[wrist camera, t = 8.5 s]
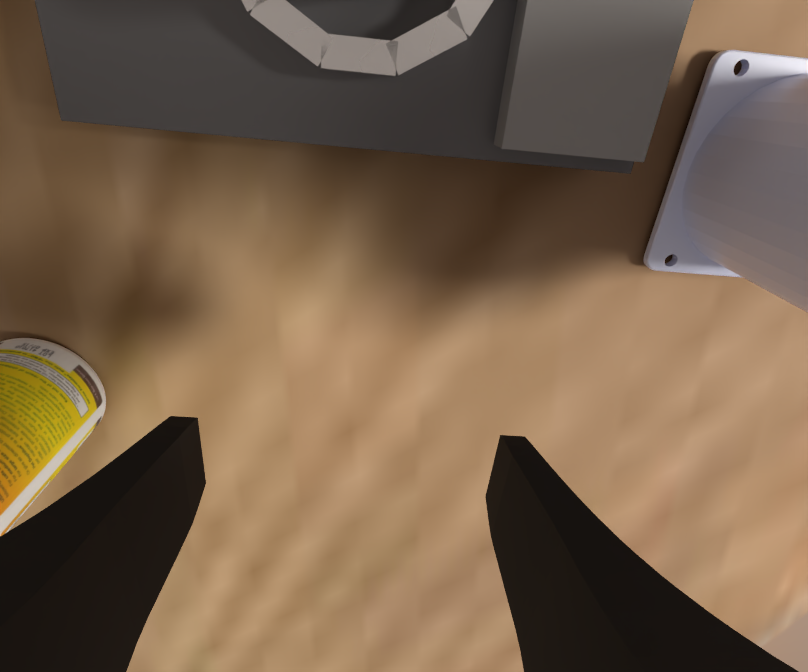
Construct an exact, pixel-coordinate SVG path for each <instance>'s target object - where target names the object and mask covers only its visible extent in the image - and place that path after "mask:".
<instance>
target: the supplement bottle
mask: <svg viewBox="0 0 808 672" xmlns="http://www.w3.org/2000/svg"><path fill="white" fill-rule="evenodd" d="M105 407H106V396H105V391H104V387H103V385H102V383H101V381H100V379H99V377H98V375H97V374H96V372H95V371H94V370H93V369H92V367H91V366H90V365H89V364H88V363H87V362H86V361H85V360H83V359H82V358H81V357H80V356H78V355H77V354H75V353H74V352H72V351H70V350H68V349H67V348H64V347H62V346H60V345H58V344H55V343H52V342H49V341H45V340H40V339H34V338H15V339H9V340H5V341H1V342H0V536H2V535H3V534H5V533H7V532H8V531H9V530H10V529H11V528H12V526H13V525H14V524H15V523H16V522H17V520H18V519H19V518H20V517H21V516H22V515H23V513H24V512H25V511H26V510H27V509H28V508H29V506H30V505H31V504H32V503H33V502H34V500H35V499H36V498H37V497H38V496H39V495H40V493H41V492H42V491H43V490H44V489H45V487H46V486H47V485H48V484H49V483H50V482H51V481H52V479H53V478H54V477H55V476H56V475H57V473H58V472H59V471H60V470H61V469H62V467H63V466H64V465H65V464H66V463H67V462H68V460H69V459H70V458H71V457H72V456H73V454H74V453H75V452H76V451H77V450H78V449H79V447H80V446H81V445H82V444H83V442H84V441H85V440H86V439H87V437H88V436H89V435H90V434H91V433H92V432H93V430H94V429H95V428H96V427H97V425H98V424H99V422H100V421H101V419H102V417H103V415H104V412H105Z"/></svg>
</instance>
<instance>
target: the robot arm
mask: <svg viewBox="0 0 808 672" xmlns="http://www.w3.org/2000/svg"><path fill="white" fill-rule="evenodd" d="M738 61H741V64H742V67H741V70H740V72H739V73H738V74H737V75H735V74H734V72H733V71H734V66H735V65H736V63H737V62H738ZM669 255H673V256H672V259H671V261H669V262H668V263H665V259H666V258H667V256H669ZM643 261H644V264H645V265H646V266H647V267H648V268H650V269H651V270H655V271H667V272H680V273H692V274H705V275H718V276H730V277H743V278H745V279H747V280H749V281H751V282H752V283H754V284H756V285H758V286H760V287H762V288H763V289H765V290H767V291H769V292H771V293H773V294H775V295H776V296H778V297H780V298H782V299H784V300H786V301H787V302H789V303H791V304H793V305H795V306H797V307H798V308H800V309H802V310H804V311H806V312H808V58H801V57H792V56H783V55H774V54H766V53H757V52H748V51H740V50H725V51H721V52H719V53H717V54H715V56H714V57H713V58H712V59H711V60H710V62H709V64H708V67H707V70H706V73H705V76H704V79H703V82H702V85H701V88H700V91H699V94H698V97H697V100H696V103H695V106H694V109H693V112H692V114H691V117H690V120H689V123H688V126H687V129H686V132H685V135H684V138H683V141H682V144H681V147H680V150H679V153H678V156H677V159H676V162H675V165H674V168H673V171H672V174H671V177H670V180H669V183H668V186H667V189H666V192H665V195H664V198H663V201H662V204H661V207H660V210H659V213H658V216H657V219H656V222H655V225H654V228H653V231H652V234H651V237H650V240H649V242H648V245H647V248H646V251H645V254H644V260H643ZM205 484H206V480H205V472H204V464H203V457H202V449H201V441H200V433H199V425H198V418H194V417H176V416H170V417H169V418H168V419H166V420H165V421H164V422H162V423H161V424H160V425H158V426H157V427H156V428H154V429H153V430H152V431H151V432H149V433H148V434H147V435H146V436H144V437H143V438H142V439H140V440H139V441H138V442H137V443H135V444H134V445H133V446H131V447H130V448H129V449H128V450H126V451H125V452H124V453H122V454H121V455H120V456H118V457H117V458H116V459H114V460H113V461H112V462H110V463H109V464H108V465H106V466H105V467H104V468H102V469H101V470H100V471H98V472H97V473H96V474H94V475H93V476H92V477H90V478H89V479H87V480H86V481H84V482H83V483H82V484H80V485H79V486H77V487H76V488H74V489H73V490H71V491H70V492H69V493H67V494H66V495H64V496H63V497H61V498H60V499H59V500H57V501H56V502H54V503H53V504H51V505H50V506H48V507H47V508H45V509H44V510H42V511H41V512H39V513H38V514H36V515H35V516H33V517H31V518H30V519H28V520H27V521H25V522H23V523H22V524H20V525H19V526H17V527H15V528H14V529H12V530H10V531H8V532H7V533H5V534H3V535H2V536H0V672H126V671H127V668H128V665H129V663H130V660H131V657H132V655H133V652H134V649H135V647H136V644H137V641H138V639H139V637H140V634H141V632H142V630H143V627H144V625H145V623H146V621H147V618H148V616H149V614H150V612H151V610H152V608H153V606H154V604H155V602H156V600H157V597H158V595H159V593H160V591H161V589H162V587H163V585H164V583H165V581H166V579H167V577H168V575H169V572H170V570H171V568H172V566H173V564H174V562H175V560H176V558H177V556H178V554H179V551H180V549H181V547H182V545H183V543H184V541H185V539H186V537H187V534H188V532H189V530H190V528H191V526H192V523H193V521H194V518H195V515H196V512H197V509H198V506H199V503H200V500H201V497H202V494H203V490H204V487H205ZM486 504H487V511H488V519H489V526H490V532H491V538H492V542H493V546H494V550H495V554H496V558H497V561H498V565H499V569H500V573H501V576H502V580H503V584H504V588H505V591H506V595H507V599H508V603H509V606H510V610H511V614H512V617H513V621H514V625H515V629H516V633H517V637H518V642H519V646H520V651H521V656H522V662H523V668H524V672H798V671H797V670H795V669H794V668H792V667H790V666H789V665H787V664H785V663H784V662H782V661H780V660H779V659H777V658H776V657H774V656H772V655H771V654H769V653H768V652H766V651H765V650H763V649H762V648H760V647H759V646H757V645H756V644H754V643H753V642H751V641H750V640H748V639H747V638H745V637H744V636H742V635H741V634H739V633H738V632H736V631H735V630H733V629H732V628H731V627H729V626H728V625H726V624H725V623H723V622H722V621H721V620H719V619H718V618H716V617H715V616H714V615H712V614H711V613H709V612H708V611H707V610H705V609H704V608H703V607H701V606H700V605H699V604H697V603H696V602H695V601H693V600H692V599H691V598H689V597H688V596H687V595H686V594H684V593H683V592H682V591H680V590H679V589H678V588H676V587H675V586H674V585H673V584H671V583H670V582H669V581H668V580H666V579H665V578H664V577H663V576H661V575H660V574H659V573H658V572H657V571H655V570H654V569H653V568H652V567H651V566H650V565H648V564H647V563H646V562H645V561H644V560H643V559H641V558H640V557H639V556H638V555H637V554H636V553H634V552H633V551H632V550H631V549H630V548H629V547H628V546H627V545H626V544H624V543H623V542H622V541H621V540H620V539H619V538H618V537H617V536H616V535H615V534H614V533H613V532H612V531H611V530H610V529H609V528H608V527H607V526H606V525H605V524H604V523H603V522H602V521H601V520H600V519H599V518H598V517H597V516H595V514H594V513H593V512H592V511H591V510H590V509H589V508H588V507H587V506H586V505H585V504H584V503H583V502H582V501H581V500H580V499H579V498H578V497H577V496H576V494H575V493H574V492H573V491H572V490H571V489H570V488H569V487H568V486H567V485H566V483H565V482H564V481H563V480H562V479H561V478H560V477H559V476H558V474H557V473H556V472H555V471H554V470H553V469H552V468H551V466H550V465H549V464H548V463H547V462H546V461H545V459H544V458H543V457H542V456H541V455H540V454H539V452H538V451H537V450H536V449H535V448H534V447H533V445H532V444H531V443H530V442H529V441H528V440H527V439H526V437H522V436H505V435H500V439H499V443H498V447H497V451H496V455H495V460H494V464H493V468H492V472H491V476H490V480H489V484H488V489H487V493H486Z"/></svg>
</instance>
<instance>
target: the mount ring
mask: <svg viewBox="0 0 808 672" xmlns="http://www.w3.org/2000/svg"><path fill="white" fill-rule="evenodd" d="M493 1H494V0H454V1H453V2H452V4H451V6H450V7H449V9H448V10H447V11H446V12H444V13H442V14H440V15H438V16H436V17H434V18H433V19H431V20H429V21H427V22H425V23H423V24H422V25H420V26H418V27H416V28H414V29H412V30H410V31H409V32H407V33H405V34H403V35H401V36H399V37H397V38H396V39H394V40H392V41H390V40H381V39H372V38H363V37H353V36H344V35H335V34H328V33H326V32H325V31H324V30H323V29H321V28H320V27H319V26H318V25H316V24H315V23H314V22H313V21H311V20H310V19H309V18H308V17H306V16H305V15H304V14H302V13H301V12H300V11H299V10H297V9H296V8H295V7H294V6H292V5H291V4H290V3H289V2H287V1H286V0H242V2H243V4H244V6H245V8H246V10H247V12H249V13H251V14H250V15H251V16H252V17H253V18H255V19H256V20H257V21H259V22H260V23H261V24H263V25H264V26H265V27H266V28H268V29H269V30H270V31H272V32H273V33H274V34H276V35H277V36H278V37H280V38H281V39H282V40H284V41H285V42H286V43H287V44H289V45H290V46H291V47H293V48H294V49H295V50H297V51H298V52H299V53H301V54H302V55H303V56H304V57H306V58H307V59H308V60H310V61H311V62H312V63H314V64H315V65H316V66H318V67H321V68H323V69H327V70H337V71H346V72H356V73H365V74H375V75H385V76H394V77H395V75H396V74H397V76H398V75H400V74H402V73H404V72H406V71H408V70H410V69H412V68H414V67H416V66H417V65H419V64H421V63H423V62H425V61H427V60H429V59H431V58H433V57H435V56H436V55H438V54H440V53H442V52H444V51H446V50H448V49H450V48H452V47H454V46H455V45H457V44H459V43H461V42H463V41H465V40H467V38H468V37H470V36H471V34H472V33H473V31H474V30H475V28H476V27H477V25H478V24H479V22H480V20H481V19H482V17H483V16H484V14H485V13H486V11H487V10H488V8H489V7H490V5H491V4H492V2H493Z"/></svg>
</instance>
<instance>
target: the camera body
mask: <svg viewBox="0 0 808 672" xmlns="http://www.w3.org/2000/svg"><path fill="white" fill-rule="evenodd" d="M286 1H287V2H289V3H290V4H291V5H292V6H294V7H295V8H296V9H297V10H299V11H300V12H301V13H302V14H304V15H305V16H306V17H308V18H309V19H310V20H311V21H313V22H314V23H315V24H316V25H318V26H319V27H320V28H321V29H323V30H324V31H325V32H326V33H328V34H335V35H344V36H353V37H363V38H372V39H381V40H390V41H392V40H394V39H396V38H397V37H399V36H401V35H403V34H405V33H407V32H409V31H410V30H412V29H414V28H416V27H418V26H420V25H422V24H423V23H425V22H427V21H429V20H431V19H433V18H434V17H436V16H438V15H440V14H442V13H444V12H446V11H447V10H448V9H449V7H450V6H451V4H452V2H453V1H454V0H286ZM693 1H694V0H494V1H493V2H492V4H491V5H490V7H489V8H488V10H487V11H486V13H485V14H484V16H483V17H482V19H481V20H480V22H479V24H478V25H477V27H476V28H475V30H474V31H473V33H472V34H471V36H470V37H468V38H467V40H465V41H463V42H461V43H459V44H457V45H455V46H454V47H452V48H450V49H448V50H446V51H444V52H442V53H440V54H438V55H436V56H435V57H433V58H431V59H429V60H427V61H425V62H423V63H421V64H419V65H417V66H416V67H414V68H412V69H410V70H408V71H406V72H404V73H402V74H400V75H398V76H397V74H396V75H395V77H394V76H385V75H375V74H365V73H356V72H346V71H337V70H327V69H323V68H321V67H318V66H316V65H315V64H314V63H312V62H311V61H310V60H308V59H307V58H306V57H304V56H303V55H302V54H301V53H299V52H298V51H297V50H295V49H294V48H293V47H291V46H290V45H289V44H287V43H286V42H285V41H284V40H282V39H281V38H280V37H278V36H277V35H276V34H274V33H273V32H272V31H270V30H269V29H268V28H266V27H265V26H264V25H263V24H261V23H260V22H259V21H257V20H256V19H255V18H253V17H252V16H251V15H250V14H251V13H249V12H247V10H246V8H245V6H244V4H243V2H242V0H35V3H36V8H37V13H38V17H39V22H40V26H41V31H42V35H43V40H44V45H45V49H46V54H47V58H48V63H49V67H50V72H51V77H52V81H53V86H54V90H55V95H56V99H57V104H58V108H59V113H60V118H61V120H62V121H72V122H83V123H94V124H104V125H115V126H126V127H137V128H147V129H158V130H169V131H179V132H190V133H201V134H211V135H222V136H233V137H243V138H254V139H265V140H276V141H286V142H297V143H308V144H318V145H329V146H340V147H350V148H361V149H372V150H382V151H393V152H404V153H414V154H425V155H436V156H447V157H457V158H468V159H479V160H489V161H500V162H511V163H521V164H532V165H543V166H553V167H564V168H575V169H586V170H596V171H607V172H618V173H628V174H631V170H632V167H633V164H634V161H636V162H644V160H645V157H646V154H647V151H648V147H649V144H650V141H651V138H652V134H653V131H654V128H655V125H656V121H657V118H658V115H659V112H660V108H661V105H662V102H663V99H664V95H665V92H666V89H667V86H668V82H669V79H670V76H671V73H672V69H673V66H674V63H675V59H676V56H677V53H678V50H679V46H680V43H681V40H682V37H683V33H684V30H685V27H686V24H687V20H688V17H689V14H690V11H691V7H692V4H693Z"/></svg>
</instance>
